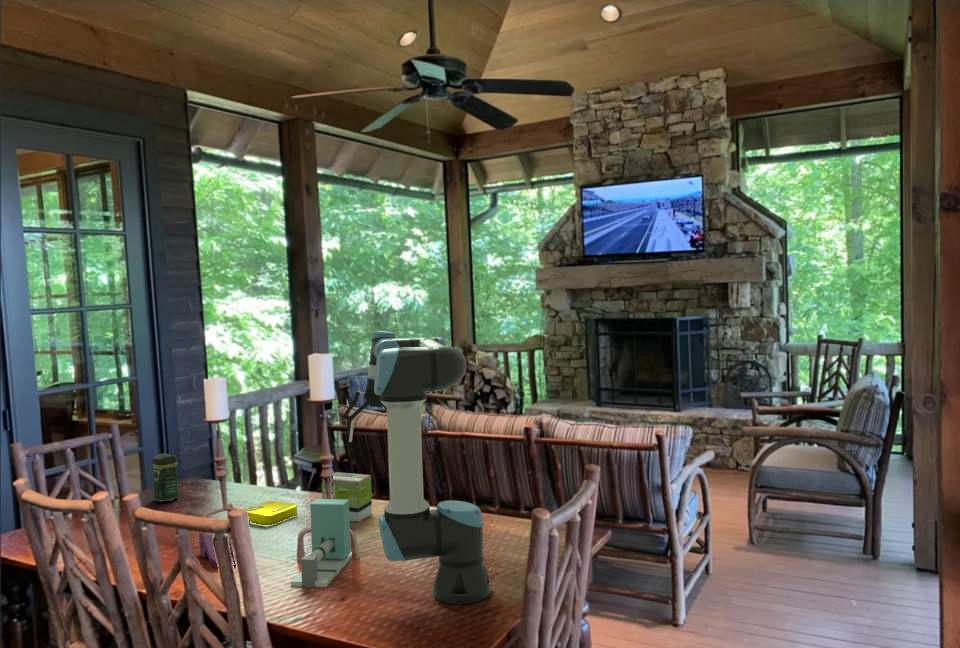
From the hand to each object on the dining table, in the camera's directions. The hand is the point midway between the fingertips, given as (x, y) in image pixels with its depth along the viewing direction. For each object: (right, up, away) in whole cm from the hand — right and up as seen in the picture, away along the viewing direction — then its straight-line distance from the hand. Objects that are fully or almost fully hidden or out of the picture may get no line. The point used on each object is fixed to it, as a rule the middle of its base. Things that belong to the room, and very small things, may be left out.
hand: (371, 443), depth 221 cm
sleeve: (-9, -30, -20) cm, 37 cm away
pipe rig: (-9, -32, -25) cm, 42 cm away
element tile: (-41, -32, +24) cm, 57 cm away
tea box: (-12, -31, +23) cm, 40 cm away
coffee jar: (-90, -32, +51) cm, 108 cm away
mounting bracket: (-43, -33, -15) cm, 56 cm away
